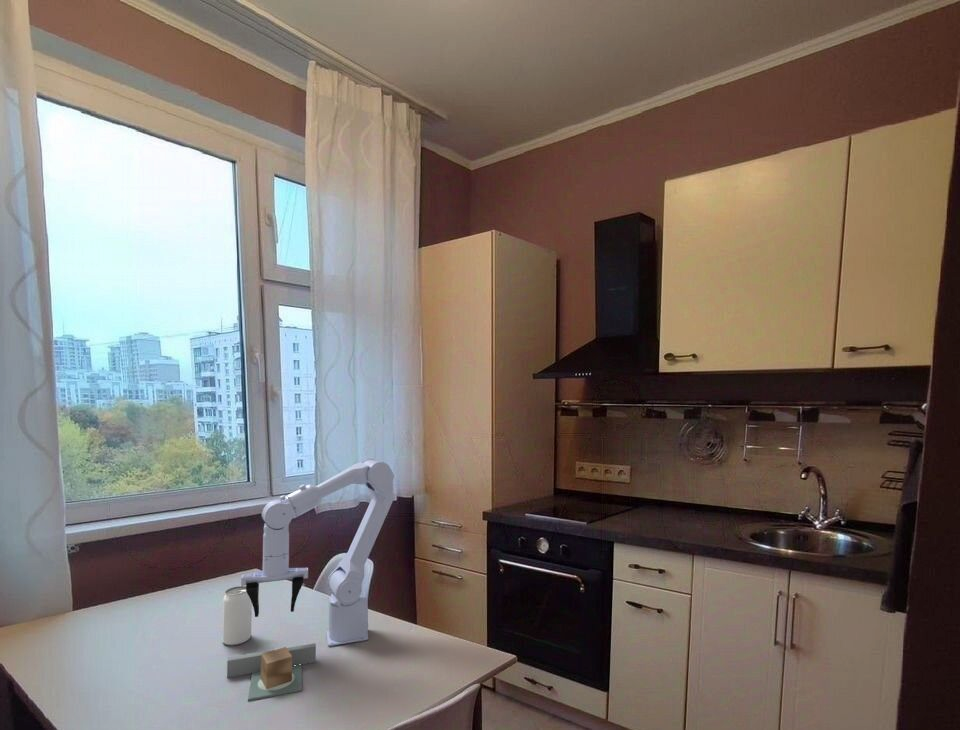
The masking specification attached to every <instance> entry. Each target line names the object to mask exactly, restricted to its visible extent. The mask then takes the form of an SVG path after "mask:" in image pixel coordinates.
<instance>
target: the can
mask: <svg viewBox="0 0 960 730" xmlns="http://www.w3.org/2000/svg"><path fill="white" fill-rule="evenodd" d="M252 610H253V605H252V602H251V599H250V597H249V595H248V594H247V592H246V586H241V585H239V586H233V587H230V588H228V589H226V590H225V595H224V596H223V602H222V630H221V631H222V633H221V634H222V635H221V636H222V637H221V638H222V640H221V641H222V643H223V644H224V645H225V646H238V645H242V644H244V643H246V642H247V641H249V640H250V638H251V637H252V616H253V613H252V612H253V611H252Z"/></svg>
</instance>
